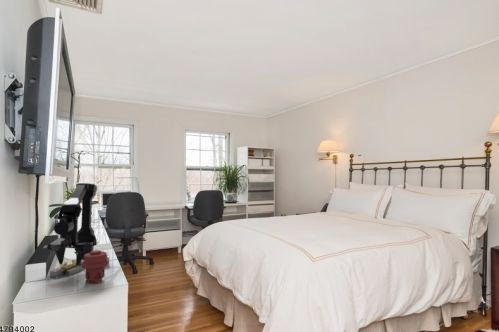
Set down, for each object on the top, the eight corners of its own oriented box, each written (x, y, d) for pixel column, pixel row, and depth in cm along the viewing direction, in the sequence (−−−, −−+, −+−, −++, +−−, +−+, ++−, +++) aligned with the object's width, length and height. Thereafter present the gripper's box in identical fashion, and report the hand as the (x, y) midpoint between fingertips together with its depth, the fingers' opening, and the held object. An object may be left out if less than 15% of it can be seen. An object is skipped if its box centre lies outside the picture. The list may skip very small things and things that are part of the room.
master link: (72, 269, 134) (72, 259, 134) (78, 269, 133) (78, 259, 134) (59, 274, 127) (59, 263, 128) (66, 274, 127) (66, 263, 127)
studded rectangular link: (75, 265, 139) (75, 259, 139) (90, 266, 137) (90, 260, 137) (45, 276, 124) (45, 269, 124) (62, 278, 122) (62, 271, 122)
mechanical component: (105, 284, 115) (77, 287, 112) (110, 276, 124) (85, 278, 122) (106, 253, 115) (78, 255, 113) (111, 247, 125) (85, 249, 122)
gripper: (37, 233, 125) (36, 269, 125) (73, 235, 121) (72, 272, 121) (59, 228, 136) (58, 261, 136) (92, 230, 132) (91, 264, 132)
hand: (69, 264), depth 131 cm, fingers open, 9 cm apart
